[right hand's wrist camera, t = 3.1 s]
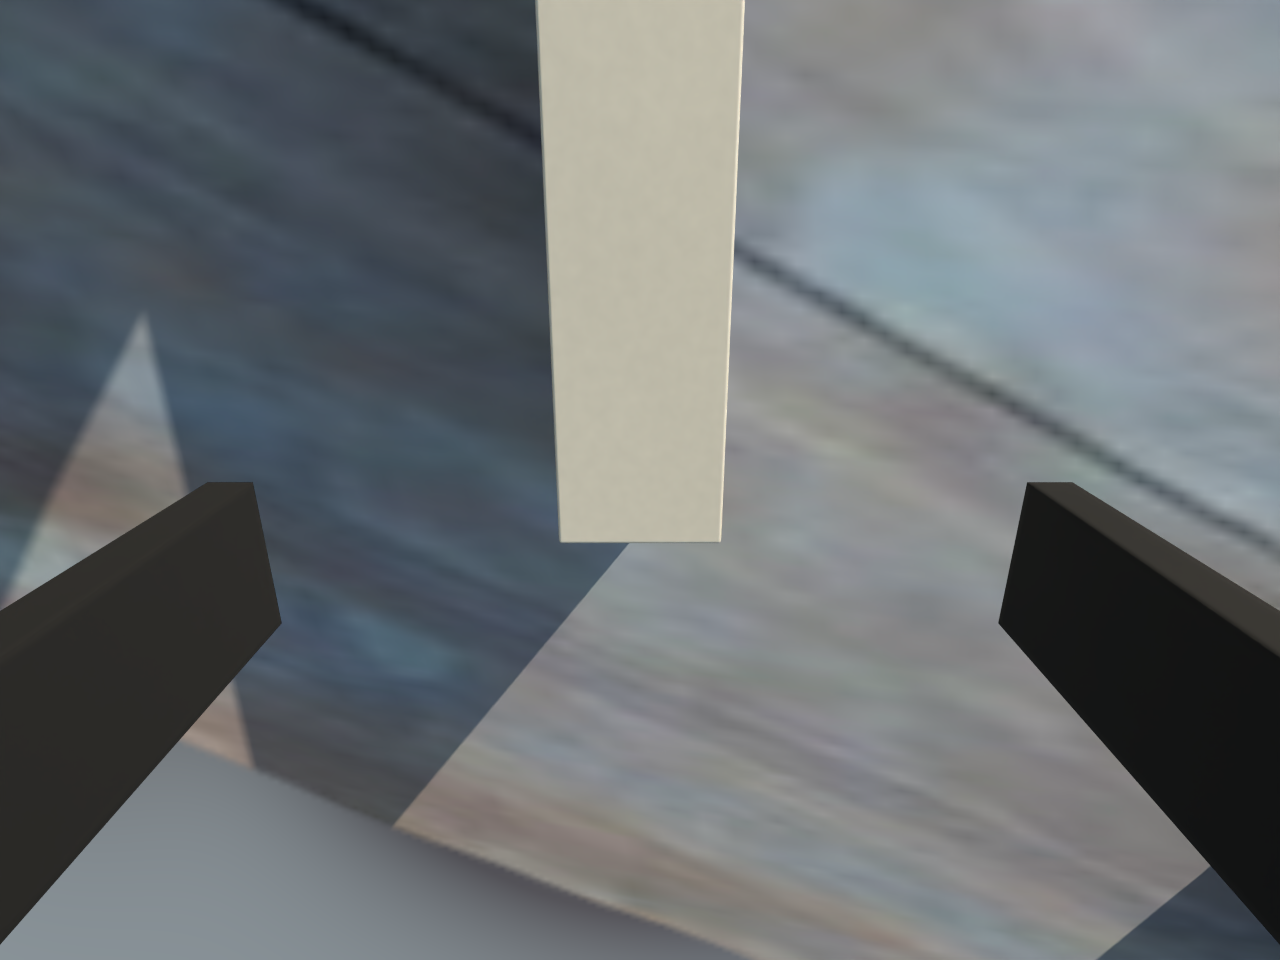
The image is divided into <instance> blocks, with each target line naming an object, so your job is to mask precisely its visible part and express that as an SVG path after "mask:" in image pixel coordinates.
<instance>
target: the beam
mask: <svg viewBox="0 0 1280 960" xmlns="http://www.w3.org/2000/svg"><path fill="white" fill-rule="evenodd" d="M744 7H745V0H535V8H536V30H537V53H538V76H539V98H540V121H541V143H542V166H543V189H544V211H545V234H546V256H547V279H548V302H549V324H550V347H551V370H552V392H553V415H554V437H555V460H556V483H557V505H558V528H559V541H560V542H561V543H719V542H720V541H721V527H722V505H723V482H724V460H725V437H726V414H727V392H728V369H729V346H730V324H731V301H732V279H733V256H734V233H735V211H736V188H737V165H738V143H739V120H740V98H741V75H742V52H743V30H744Z"/></svg>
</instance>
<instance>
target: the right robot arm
mask: <svg viewBox="0 0 1280 960" xmlns="http://www.w3.org/2000/svg"><path fill="white" fill-rule="evenodd" d="M280 624H281V618H280V613H279V608H278V603H277V598H276V593H275V588H274V584H273V579H272V574H271V569H270V564H269V559H268V554H267V549H266V545H265V540H264V535H263V530H262V525H261V520H260V515H259V510H258V506H257V501H256V496H255V491H254V486H253V482H207V483H206V484H204V485H203V486H201V487H199V488H198V489H196V490H195V491H193V492H191V493H190V494H188V495H186V496H185V497H183V498H182V499H180V500H178V501H177V502H175V503H174V504H172V505H170V506H169V507H167V508H166V509H164V510H162V511H161V512H159V513H157V514H156V515H154V516H153V517H151V518H149V519H148V520H146V521H145V522H143V523H141V524H140V525H138V526H137V527H135V528H133V529H132V530H130V531H128V532H127V533H125V534H124V535H122V536H120V537H119V538H117V539H116V540H114V541H112V542H111V543H109V544H108V545H106V546H104V547H103V548H101V549H99V550H98V551H96V552H95V553H93V554H91V555H90V556H88V557H87V558H85V559H83V560H82V561H80V562H79V563H77V564H75V565H74V566H72V567H70V568H69V569H67V570H66V571H64V572H62V573H61V574H59V575H58V576H56V577H54V578H53V579H51V580H49V581H48V582H46V583H45V584H43V585H41V586H40V587H38V588H37V589H35V590H33V591H32V592H30V593H29V594H27V595H25V596H24V597H22V598H20V599H19V600H17V601H16V602H14V603H12V604H11V605H9V606H8V607H6V608H4V609H3V610H1V611H0V944H1V943H2V942H3V941H4V940H5V938H6V937H7V936H8V935H9V934H10V933H11V932H12V930H13V929H14V928H15V927H16V926H17V925H18V924H19V922H20V921H21V920H22V919H23V918H24V917H25V916H26V914H27V913H28V912H29V911H30V910H31V909H32V908H33V906H34V905H35V904H36V903H37V902H38V901H39V900H40V898H41V897H42V896H43V895H44V894H45V893H46V892H47V890H48V889H49V888H50V887H51V886H52V885H53V884H54V882H55V881H56V880H57V879H58V878H59V877H60V876H61V875H62V873H63V872H64V871H65V870H66V869H67V868H68V867H69V865H70V864H71V863H72V862H73V861H74V860H75V859H76V857H77V856H78V855H79V854H80V853H81V852H82V851H83V849H84V848H85V847H86V846H87V845H88V844H89V843H90V841H91V840H92V839H93V838H94V837H95V836H96V835H97V833H98V832H99V831H100V830H101V829H102V828H103V827H104V825H105V824H106V823H107V822H108V821H109V820H110V818H111V817H112V816H113V815H114V814H115V813H116V812H117V811H118V809H119V808H120V807H121V806H122V805H123V804H124V803H125V801H126V800H127V799H128V798H129V797H130V796H131V795H132V793H133V792H134V791H135V790H136V789H137V788H138V787H139V785H140V784H141V783H142V782H143V781H144V780H145V779H146V777H147V776H148V775H149V774H150V773H151V772H152V771H153V769H154V768H155V767H156V766H157V765H158V764H159V763H160V761H161V760H162V759H163V758H164V757H165V756H166V755H167V753H168V752H169V751H170V750H171V749H172V748H173V747H174V745H175V744H176V743H177V742H178V741H179V740H180V739H181V738H182V736H183V735H184V734H185V733H186V732H187V731H188V730H189V728H190V727H191V726H192V725H193V724H194V723H195V722H196V720H197V719H198V718H199V717H200V716H201V715H202V714H203V712H204V711H205V710H206V709H207V708H208V707H209V706H210V704H211V703H212V702H213V701H214V700H215V699H216V698H217V696H218V695H219V694H220V693H221V692H222V691H223V690H224V688H225V687H226V686H227V685H228V684H229V683H230V682H231V680H232V679H233V678H234V677H235V676H236V675H237V674H238V672H239V671H240V670H241V669H242V668H243V667H244V666H245V664H246V663H247V662H248V661H249V660H250V659H251V658H252V656H253V655H254V654H255V653H256V652H257V651H258V650H259V648H260V647H261V646H262V645H263V644H264V643H265V642H266V640H267V639H268V638H269V637H270V636H271V635H272V634H273V632H274V631H275V630H276V629H277V628H278V627H279V626H280ZM999 624H1000V626H1001V627H1002V628H1003V629H1004V630H1005V631H1006V632H1007V634H1008V635H1009V636H1010V637H1011V638H1012V639H1013V640H1014V642H1015V643H1016V644H1017V645H1018V646H1019V647H1020V648H1021V650H1022V651H1023V652H1024V653H1025V654H1026V655H1027V656H1028V658H1029V659H1030V660H1031V661H1032V662H1033V663H1034V664H1035V666H1036V667H1037V668H1038V669H1039V670H1040V671H1041V672H1042V674H1043V675H1044V676H1045V677H1046V678H1047V679H1048V680H1049V682H1050V683H1051V684H1052V685H1053V686H1054V687H1055V688H1056V690H1057V691H1058V692H1059V693H1060V694H1061V695H1062V696H1063V698H1064V699H1065V700H1066V701H1067V702H1068V703H1069V704H1070V706H1071V707H1072V708H1073V709H1074V710H1075V711H1076V712H1077V714H1078V715H1079V716H1080V717H1081V718H1082V719H1083V720H1084V722H1085V723H1086V724H1087V725H1088V726H1089V727H1090V728H1091V730H1092V731H1093V732H1094V733H1095V734H1096V735H1097V736H1098V738H1099V739H1100V740H1101V741H1102V742H1103V743H1104V744H1105V746H1106V747H1107V748H1108V749H1109V750H1110V751H1111V752H1112V753H1113V755H1114V756H1115V757H1116V758H1117V759H1118V760H1119V761H1120V763H1121V764H1122V765H1123V766H1124V767H1125V768H1126V769H1127V771H1128V772H1129V773H1130V774H1131V775H1132V776H1133V777H1134V779H1135V780H1136V781H1137V782H1138V783H1139V784H1140V785H1141V787H1142V788H1143V789H1144V790H1145V791H1146V792H1147V793H1148V795H1149V796H1150V797H1151V798H1152V799H1153V800H1154V801H1155V803H1156V804H1157V805H1158V806H1159V807H1160V808H1161V809H1162V811H1163V812H1164V813H1165V814H1166V815H1167V816H1168V817H1169V819H1170V820H1171V821H1172V822H1173V823H1174V824H1175V825H1176V827H1177V828H1178V829H1179V830H1180V831H1181V832H1182V833H1183V835H1184V836H1185V837H1186V838H1187V839H1188V840H1189V841H1190V843H1191V844H1192V845H1193V846H1194V847H1195V848H1196V849H1197V851H1198V852H1199V853H1200V854H1201V855H1202V856H1203V857H1204V859H1205V860H1206V861H1207V862H1208V863H1209V864H1210V865H1211V867H1212V868H1213V869H1214V870H1215V871H1216V872H1217V873H1218V875H1219V876H1220V877H1221V878H1222V879H1223V880H1224V881H1225V883H1226V884H1227V885H1228V886H1229V887H1230V888H1231V889H1232V890H1233V892H1234V893H1235V894H1236V895H1237V896H1238V897H1239V898H1240V900H1241V901H1242V902H1243V903H1244V904H1245V905H1246V906H1247V908H1248V909H1249V910H1250V911H1251V912H1252V913H1253V914H1254V916H1255V917H1256V918H1257V919H1258V920H1259V921H1260V922H1261V924H1262V925H1263V926H1264V927H1265V928H1266V929H1267V930H1268V932H1269V933H1270V934H1271V935H1272V936H1273V937H1274V938H1275V940H1276V941H1277V942H1278V943H1279V944H1280V611H1279V610H1277V609H1276V608H1274V607H1272V606H1271V605H1269V604H1268V603H1266V602H1264V601H1263V600H1261V599H1260V598H1258V597H1256V596H1255V595H1253V594H1251V593H1250V592H1248V591H1247V590H1245V589H1243V588H1242V587H1240V586H1239V585H1237V584H1235V583H1234V582H1232V581H1230V580H1229V579H1227V578H1226V577H1224V576H1222V575H1221V574H1219V573H1218V572H1216V571H1214V570H1213V569H1211V568H1210V567H1208V566H1206V565H1205V564H1203V563H1201V562H1200V561H1198V560H1197V559H1195V558H1193V557H1192V556H1190V555H1189V554H1187V553H1185V552H1184V551H1182V550H1181V549H1179V548H1177V547H1176V546H1174V545H1172V544H1171V543H1169V542H1168V541H1166V540H1164V539H1163V538H1161V537H1160V536H1158V535H1156V534H1155V533H1153V532H1152V531H1150V530H1148V529H1147V528H1145V527H1143V526H1142V525H1140V524H1139V523H1137V522H1135V521H1134V520H1132V519H1131V518H1129V517H1127V516H1126V515H1124V514H1123V513H1121V512H1119V511H1118V510H1116V509H1114V508H1113V507H1111V506H1110V505H1108V504H1106V503H1105V502H1103V501H1102V500H1100V499H1098V498H1097V497H1095V496H1094V495H1092V494H1090V493H1089V492H1087V491H1085V490H1084V489H1082V488H1081V487H1079V486H1077V485H1076V484H1074V483H1073V482H1027V486H1026V491H1025V496H1024V501H1023V506H1022V510H1021V515H1020V520H1019V525H1018V530H1017V535H1016V540H1015V545H1014V549H1013V554H1012V559H1011V564H1010V569H1009V574H1008V579H1007V584H1006V588H1005V593H1004V598H1003V603H1002V608H1001V613H1000V618H999Z"/></svg>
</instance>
